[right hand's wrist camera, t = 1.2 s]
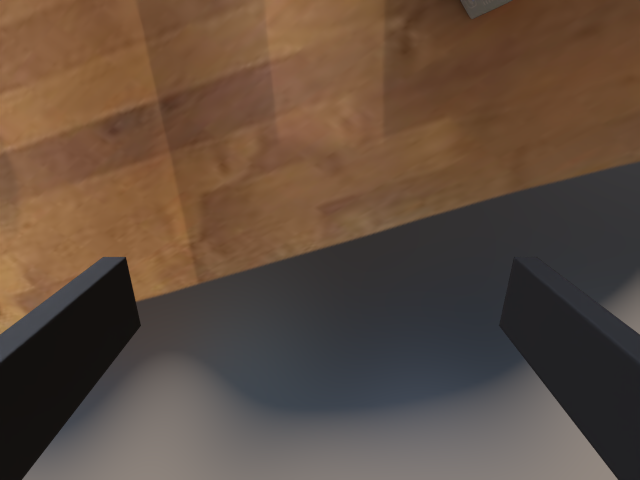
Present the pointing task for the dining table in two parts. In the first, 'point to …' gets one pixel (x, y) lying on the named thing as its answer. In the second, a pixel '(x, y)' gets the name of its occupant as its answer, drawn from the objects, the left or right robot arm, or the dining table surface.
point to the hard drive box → (481, 6)
